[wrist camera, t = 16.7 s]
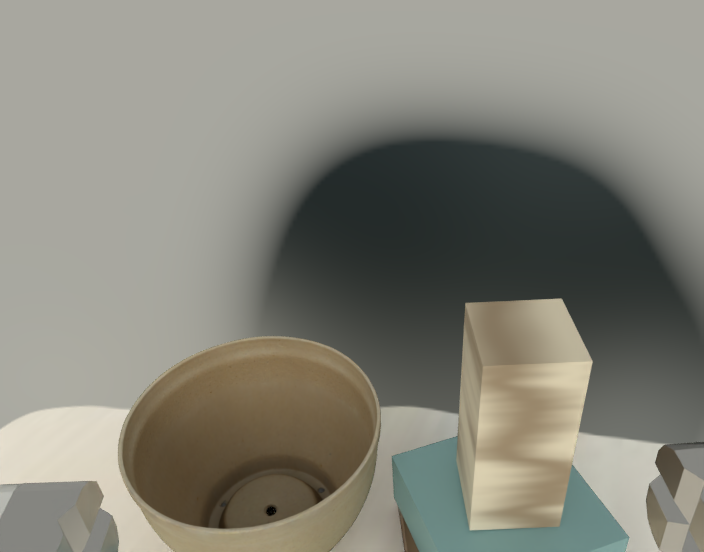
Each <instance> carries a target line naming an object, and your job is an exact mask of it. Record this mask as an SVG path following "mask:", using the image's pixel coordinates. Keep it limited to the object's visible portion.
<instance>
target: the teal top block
mask: <svg viewBox="0 0 704 552" xmlns="http://www.w3.org/2000/svg"><path fill="white" fill-rule="evenodd" d="M457 440H458V436H457V437H453V438H450V439H447V440H443V441H440V442H437V443H434V444H430V445H427V446H424V447H420V448H417V449H414V450H411V451H407V452H404V453H401V454H397V455H394V456H392V468H393V486H394V498H395V500H396V502H397V505H398V507H399V509H400V511H401V513H402V515H403V518H404V520H405V522H406V524H407V526H408V528H409V531H410V533H411V535H412V537H413V539H414V541H415V544H416V546H417V548H418V550H419V552H625V551H626V548H627V544H628V540H629V536H628V535H627V534H626V533H625V531H624V530H623V529H622V527H621V526H620V525H619V524H618V522H617V521H616V520H615V519H614V517H613V516H612V515H611V513H610V512H609V511H608V510H607V508H606V507H605V506H604V505H603V503H602V502H601V501H600V499H599V498H598V497H597V496H596V494H595V493H594V492H593V491H592V489H591V488H590V487H589V485H588V484H587V483H586V482H585V480H584V479H583V478H582V476H581V475H580V474H579V473H578V471H577V470H576V469H575V468H574V466H573V465H572V467H571V472H570V477H569V482H568V487H567V492H566V497H565V502H564V507H563V512H562V517H561V522H560V527H539V528H515V529H492V530H469V525H468V519H467V514H466V509H465V504H464V498H463V493H462V488H461V483H460V477H459V472H458V467H457V462H456V457H457Z"/></svg>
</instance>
